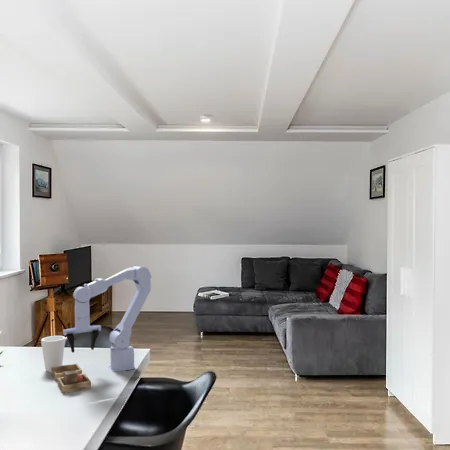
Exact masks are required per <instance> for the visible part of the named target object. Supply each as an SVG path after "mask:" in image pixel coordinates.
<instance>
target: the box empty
mask: <svg viewBox="0 0 450 450" xmlns="http://www.w3.org/2000/svg"><path fill="white" fill-rule="evenodd" d="M70 370H75V371H76V372H77V373H78V375H80V374H83V370H82V368H81V366H80V365H79V364H78V363H72V364H71V363H70V364H64V365H62V366H57V367H51V372H50V373H51V374H50V375H51V376H52V377H53V380H54V381H55V382H58V378H62V377H64V372H65V371H70Z"/></svg>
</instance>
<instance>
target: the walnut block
mask: <svg viewBox="0 0 450 450" xmlns="http://www.w3.org/2000/svg"><path fill="white" fill-rule="evenodd" d="M75 383H78V373H77V372H76V371H75V370H70V371H65V372H64V385H69V384H75Z"/></svg>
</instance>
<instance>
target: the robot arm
mask: <svg viewBox="0 0 450 450" xmlns="http://www.w3.org/2000/svg"><path fill="white" fill-rule="evenodd" d="M151 279H152V274H151V272H150V270H149V268H147V267H146V266H140V265H134V266H132V267H127V268H125V269H124V270H123V269H122V270H121V271H119V272H117V273H115V274H114V275H111V276H110V277H108V278H106V279H105V278H101V277H100V278H98V277H97V278H95V279H94V281H91V282H89V283H84V284H83V286H78V287H76V288H75V290H73V291H74V292H73V294H72V297H73V299H74V327H71V328H66V329H63V330H62V335H64V336H65V338H67V341H68V343H69V346H70V350H71V352H72V353H75V334H82V333H89V334H90V349H91V350H94V349H95V344H96V341H97V339H98V337H99V335H100V332H101V331H102V325H100V324H98V325H91V323H90V322H91V321H90V319H91V318H90V316H91V315H90V313H91V312H90V309H91V308H90V300H91V299H92V298H95V297H96V296H98V295H101V294H102V293H105V292H107V290H108V289H109V287H111V286H113V285H116V284H119V283H120V282H122V281H125V280H129V281H130V280H132V281H133V282H134V284H135V286H136V291H135V293H134V295H133V297H132V299H131V300H130V303H129V305H128V306H127V309H126V311H125V313H124V315H123V317H122V319H121V321H120V322H119V323H118V324H117V325H116V326H115V328H114V329H113V330H112V331H110V333H109V336H108V341H109V343H111V344H110V365H108V366H107V368H108V369H109V370H110V371H111V372H113V373H114V372H115V373H116V372H121V371H130V370H134V369H136V367H135V351H134V350H135V349H134V347H133V345H130V346H129V344H130V341H131V340H130V339H131V336H132V329H133V326H134V324H135V322H136V320H137V318H138V316H139V315H140V312H141V310H142V308H143V307H144V304H145V302H146V301H147V298H148V296H149V294H150V293H151V287H152V286H151V285H152V283H151Z"/></svg>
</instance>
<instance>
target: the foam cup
mask: <svg viewBox="0 0 450 450" xmlns="http://www.w3.org/2000/svg"><path fill="white" fill-rule="evenodd" d="M40 341H41V343H40V345H41V348H42V349H41V350H42V355H43V362H44V369H45V371H46V372H49V373H51V367H57V366H63V360H64V353H65V344H66V336H65V335H64V336H63V335H52V336H51V335H49V336H45V337H43V338H41V340H40Z"/></svg>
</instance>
